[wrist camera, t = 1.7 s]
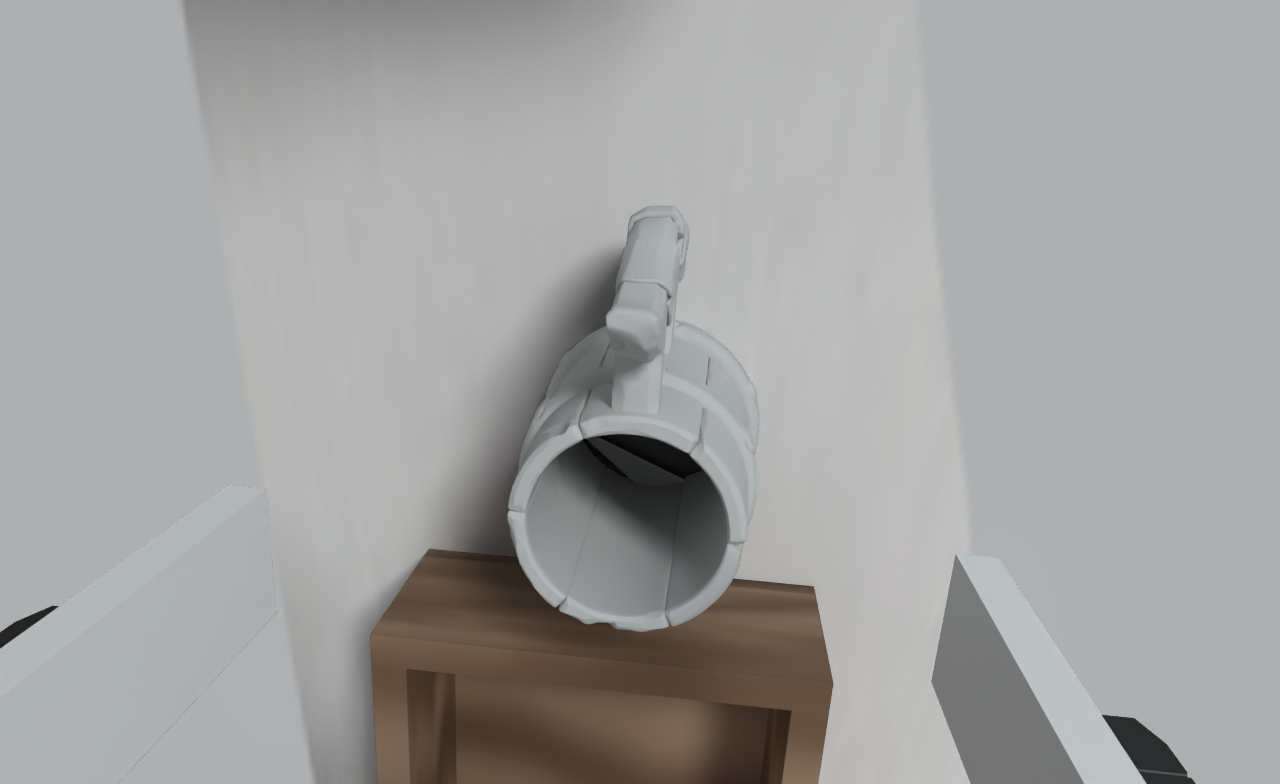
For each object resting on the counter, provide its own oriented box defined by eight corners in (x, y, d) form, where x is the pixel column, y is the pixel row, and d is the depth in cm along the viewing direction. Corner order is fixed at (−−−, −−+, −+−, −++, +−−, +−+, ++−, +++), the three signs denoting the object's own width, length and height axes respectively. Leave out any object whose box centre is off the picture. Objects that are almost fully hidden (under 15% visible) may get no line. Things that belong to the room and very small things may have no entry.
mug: (549, 493, 33) (457, 691, 21) (559, 182, 29) (455, 218, 18) (745, 513, 32) (759, 725, 21) (781, 198, 29) (822, 246, 17)
